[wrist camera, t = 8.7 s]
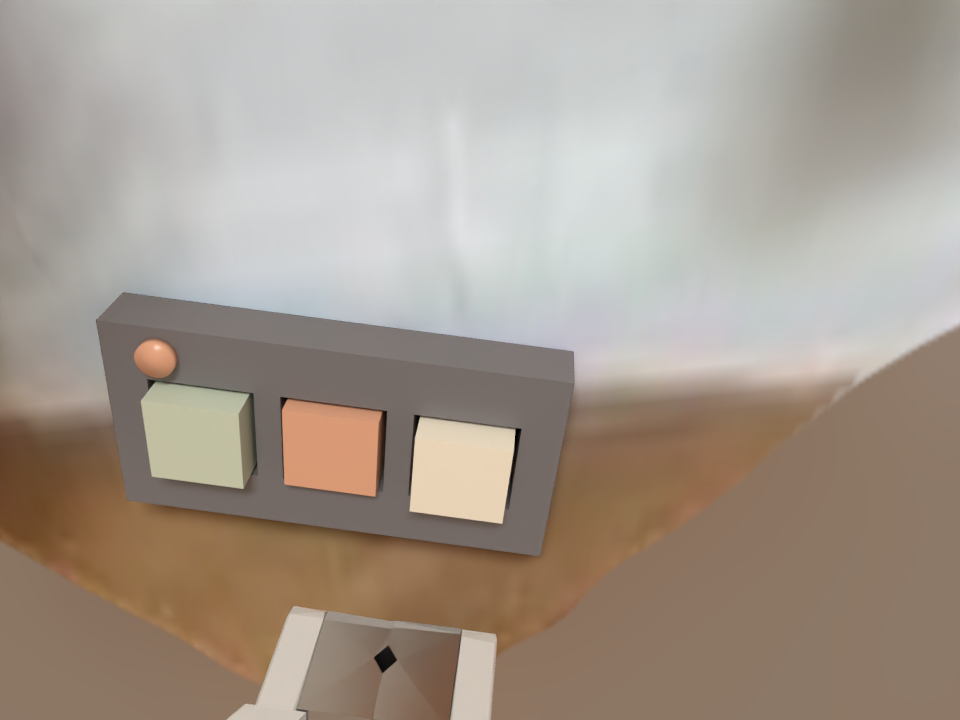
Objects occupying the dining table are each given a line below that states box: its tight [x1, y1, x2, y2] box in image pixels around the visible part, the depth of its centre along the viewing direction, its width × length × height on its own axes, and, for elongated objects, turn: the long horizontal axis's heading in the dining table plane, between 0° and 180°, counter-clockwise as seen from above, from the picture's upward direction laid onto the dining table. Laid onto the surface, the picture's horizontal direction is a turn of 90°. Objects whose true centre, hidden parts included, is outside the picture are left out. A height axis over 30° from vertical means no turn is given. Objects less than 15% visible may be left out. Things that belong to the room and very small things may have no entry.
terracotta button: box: [282, 398, 387, 497], centre depth 44 cm, size 5×5×3 cm
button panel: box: [96, 293, 574, 556], centre depth 45 cm, size 24×12×4 cm, turn 84°
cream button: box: [410, 416, 516, 524], centre depth 44 cm, size 5×5×3 cm
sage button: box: [141, 380, 257, 489], centre depth 44 cm, size 5×5×3 cm
